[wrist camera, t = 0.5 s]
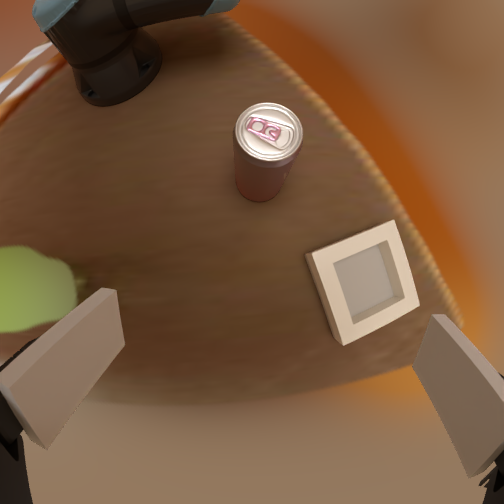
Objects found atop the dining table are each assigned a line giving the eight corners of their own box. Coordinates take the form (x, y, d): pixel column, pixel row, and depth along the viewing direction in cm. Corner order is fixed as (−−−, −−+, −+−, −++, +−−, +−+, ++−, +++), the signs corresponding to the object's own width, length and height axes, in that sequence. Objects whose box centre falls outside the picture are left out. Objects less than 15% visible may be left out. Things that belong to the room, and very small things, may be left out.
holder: (304, 254, 36) (311, 253, 32) (380, 223, 37) (393, 219, 33) (333, 337, 36) (343, 345, 32) (404, 302, 37) (419, 305, 33)
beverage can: (247, 152, 37) (251, 91, 22) (288, 171, 37) (315, 118, 22) (228, 191, 36) (219, 145, 21) (270, 210, 37) (288, 175, 22)
